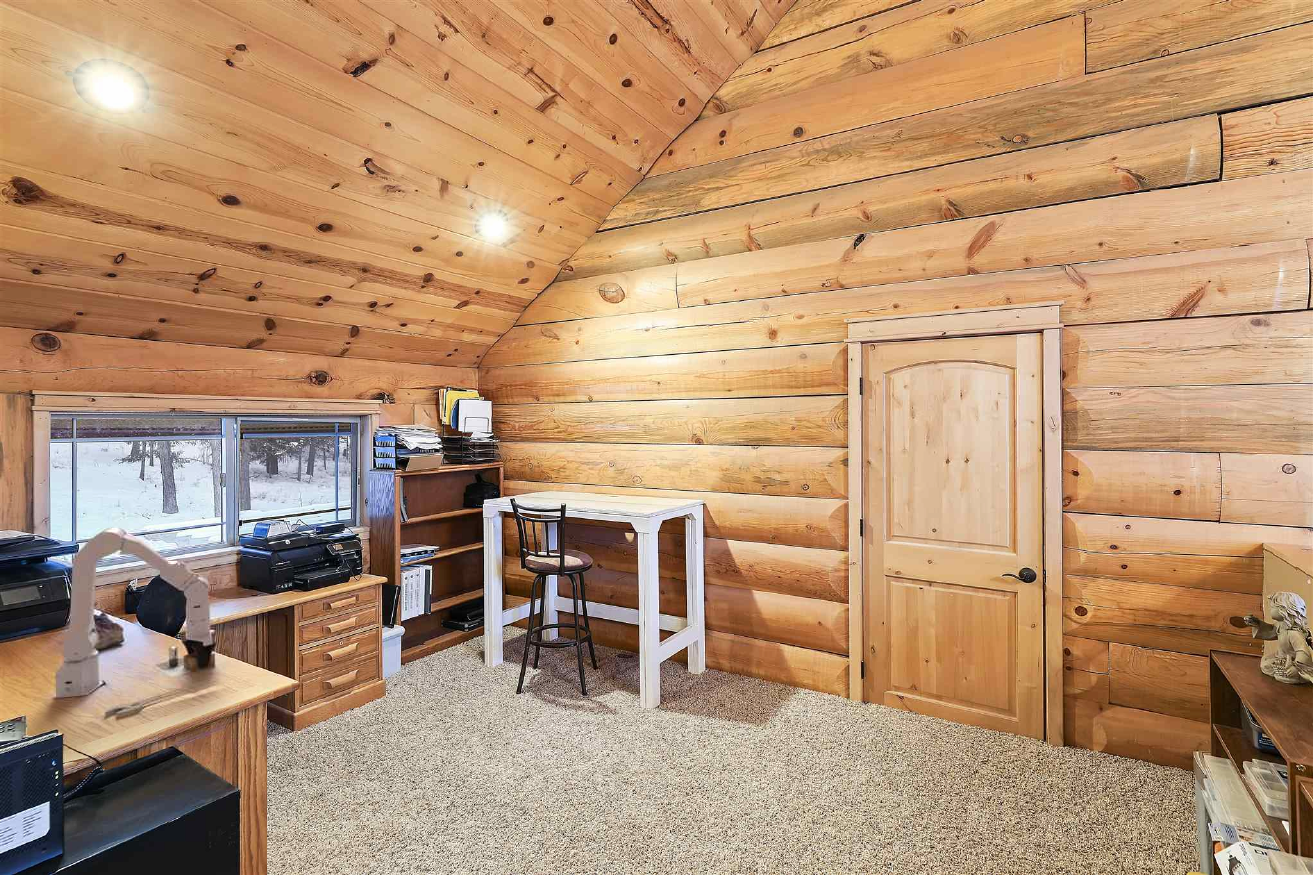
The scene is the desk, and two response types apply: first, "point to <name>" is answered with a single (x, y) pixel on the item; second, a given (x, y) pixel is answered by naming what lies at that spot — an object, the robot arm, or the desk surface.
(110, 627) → the geode
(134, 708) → the adjustable wrench
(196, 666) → the collar
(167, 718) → the desk surface
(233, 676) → the desk surface
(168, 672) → the board
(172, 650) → the post
